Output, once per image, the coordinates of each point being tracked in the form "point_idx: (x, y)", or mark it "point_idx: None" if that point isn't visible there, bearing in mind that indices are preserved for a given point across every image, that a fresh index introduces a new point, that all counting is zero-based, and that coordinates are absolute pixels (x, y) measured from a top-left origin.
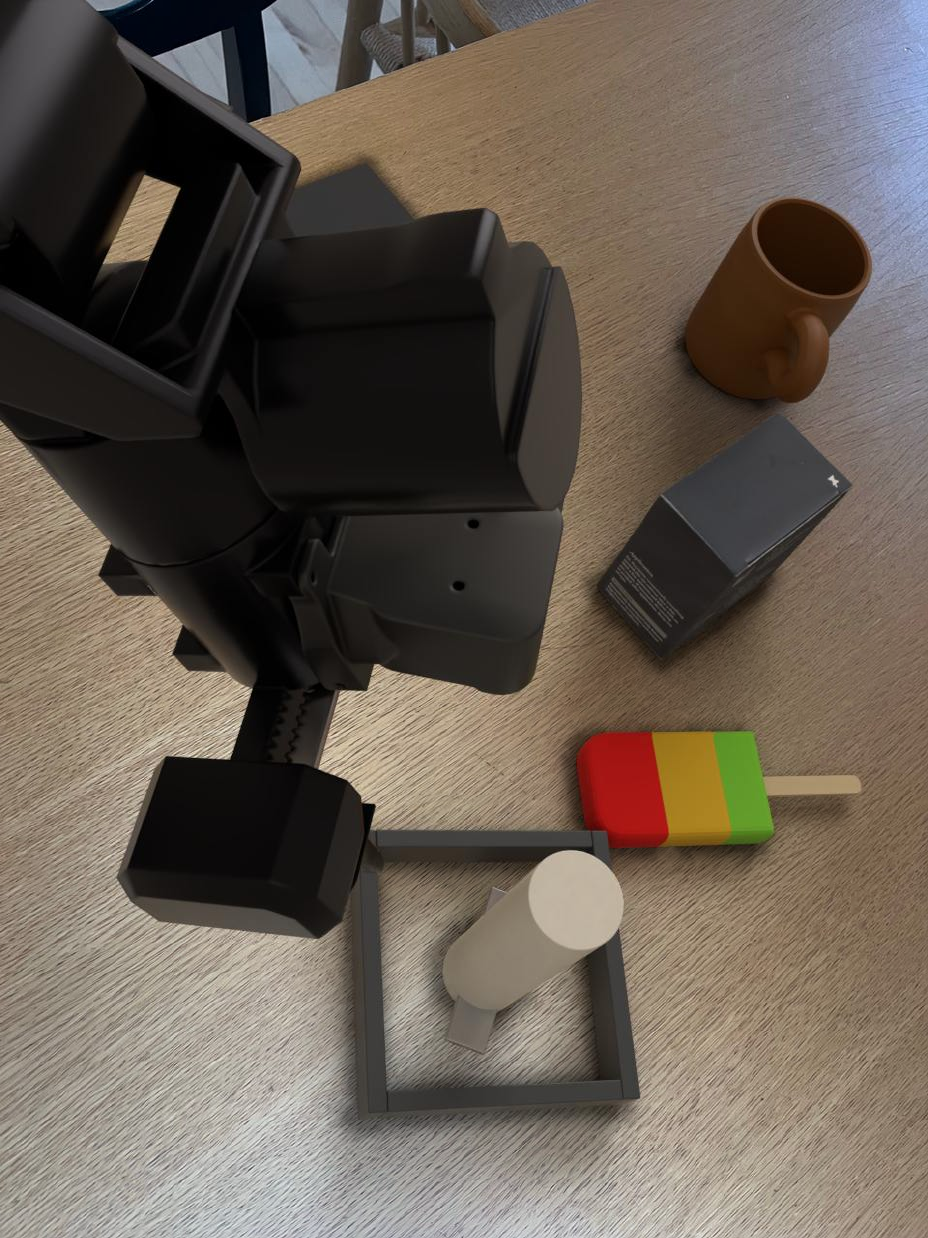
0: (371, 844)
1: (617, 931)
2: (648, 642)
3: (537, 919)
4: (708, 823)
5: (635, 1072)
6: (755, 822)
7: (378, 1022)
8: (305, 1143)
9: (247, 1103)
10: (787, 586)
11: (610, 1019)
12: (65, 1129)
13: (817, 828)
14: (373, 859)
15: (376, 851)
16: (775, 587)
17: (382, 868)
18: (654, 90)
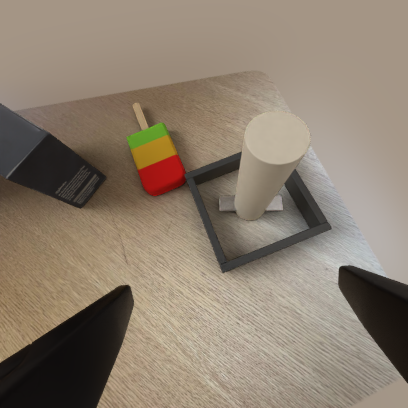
0: (403, 295)
1: (221, 160)
2: (100, 182)
3: (302, 153)
4: (167, 142)
5: None
6: (161, 128)
7: (297, 236)
8: (338, 248)
9: (336, 276)
10: (65, 142)
11: None
12: None
13: (154, 115)
14: (389, 283)
15: (377, 282)
16: None
17: (351, 267)
18: None
